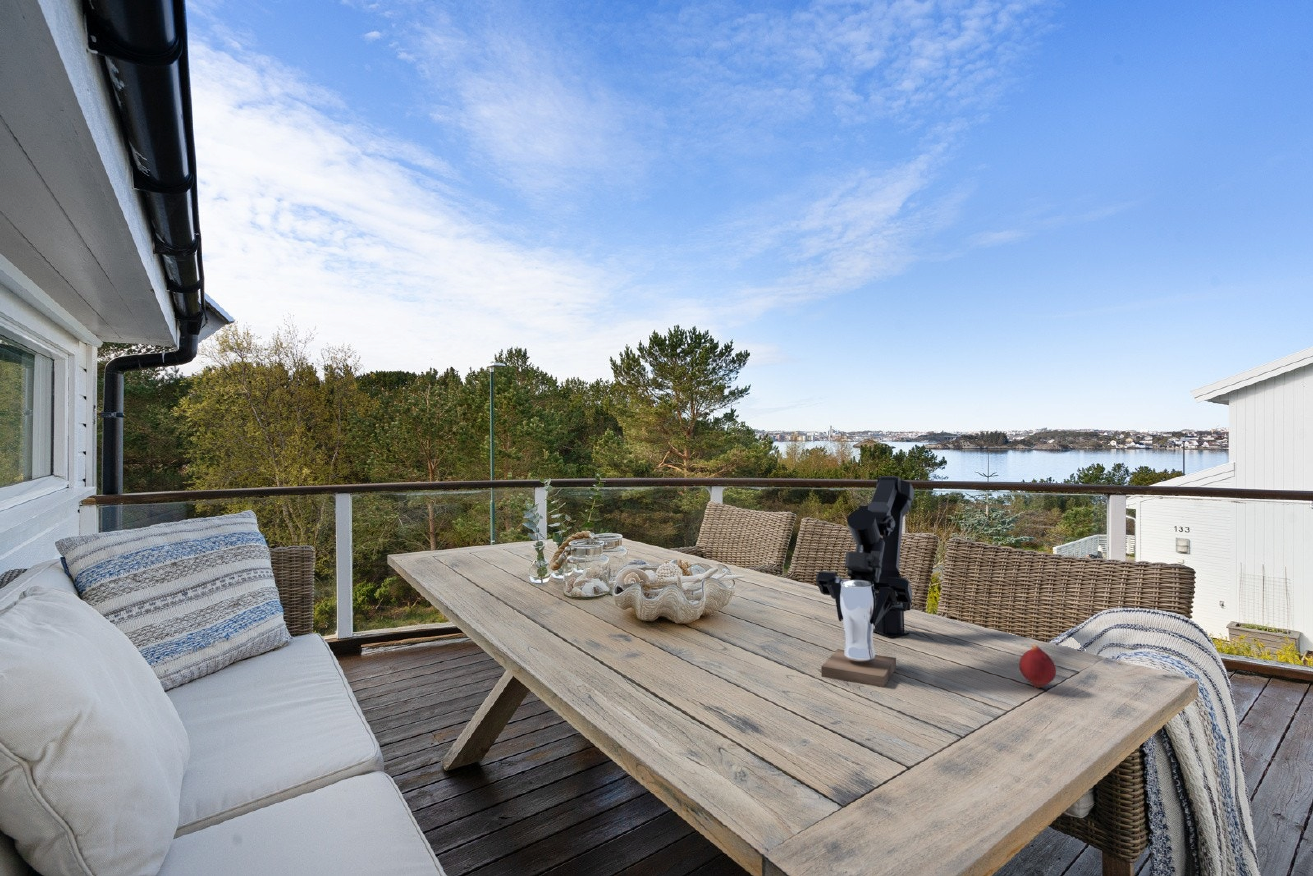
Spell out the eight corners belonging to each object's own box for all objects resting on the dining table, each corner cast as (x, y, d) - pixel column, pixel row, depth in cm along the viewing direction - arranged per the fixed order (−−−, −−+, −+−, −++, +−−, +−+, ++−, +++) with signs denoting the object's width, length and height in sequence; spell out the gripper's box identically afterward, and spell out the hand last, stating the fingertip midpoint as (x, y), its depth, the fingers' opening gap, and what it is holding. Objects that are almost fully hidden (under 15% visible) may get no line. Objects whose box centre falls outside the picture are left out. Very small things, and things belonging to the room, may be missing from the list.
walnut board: (838, 658, 135) (837, 649, 135) (896, 667, 128) (896, 657, 128) (821, 676, 124) (821, 666, 124) (884, 687, 118) (883, 676, 118)
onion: (1051, 683, 118) (1050, 641, 118) (1060, 695, 113) (1058, 650, 113) (1016, 680, 120) (1015, 639, 120) (1023, 691, 115) (1022, 648, 115)
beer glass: (880, 653, 128) (878, 580, 128) (873, 664, 122) (871, 588, 122) (846, 648, 131) (843, 578, 131) (837, 659, 125) (835, 585, 125)
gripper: (816, 533, 135) (801, 595, 126) (907, 538, 125) (898, 606, 116) (828, 563, 142) (815, 624, 132) (916, 570, 132) (908, 636, 122)
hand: (856, 622), depth 125 cm, fingers closed on beer glass, 6 cm apart
